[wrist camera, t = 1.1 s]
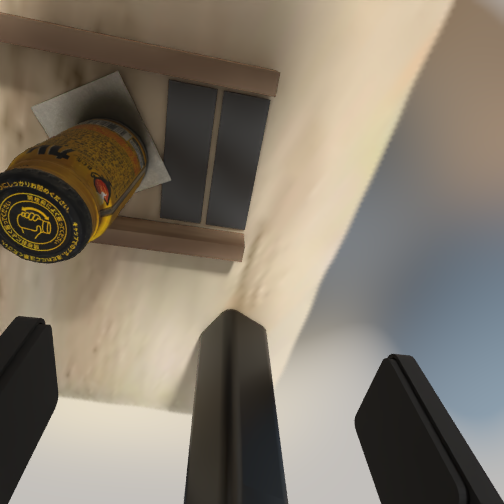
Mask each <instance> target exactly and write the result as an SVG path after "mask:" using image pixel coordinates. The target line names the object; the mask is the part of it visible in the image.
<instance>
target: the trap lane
mask: <svg viewBox="0 0 504 504" xmlns="http://www.w3.org/2000/svg"><path fill="white" fill-rule="evenodd" d="M0 42H5V43H10V44H15V45H20V46H25V47H29V48H34V49H39V50H44V51H49V52H54V53H59V54H64V55H69V56H74V57H79V58H84V59H89V60H94V61H99V62H104V63H109V64H114V65H119V66H124V67H129V68H134V69H139V70H144V71H149V72H154V73H159V74H164V75H169V76H174V77H179V78H184V79H189V80H194V81H199V82H204V83H209V84H214V85H219V86H224V87H229V88H234V89H239V90H244V91H249V92H254V93H259V94H264V95H269V96H273V97H275V96H276V91H277V86H278V81H279V76H280V72H278V71H275V70H271V69H266V68H261V67H256V66H252V65H247V64H242V63H238V62H233V61H228V60H223V59H219V58H214V57H209V56H204V55H200V54H195V53H190V52H186V51H181V50H176V49H171V48H167V47H162V46H157V45H152V44H148V43H143V42H138V41H134V40H129V39H124V38H119V37H115V36H110V35H105V34H101V33H96V32H91V31H86V30H82V29H77V28H72V27H67V26H63V25H58V24H53V23H49V22H44V21H39V20H34V19H30V18H25V17H20V16H15V15H11V14H6V13H1V12H0ZM216 97H217V89H213V88H208V87H203V86H198V85H193V84H188V83H183V82H178V81H173V80H169V89H168V104H167V119H166V134H165V150H164V165H165V168H166V170H167V172H168V174H169V176H170V178H171V181H168V182H165V183H162V195H161V211H160V218H166V219H172V220H179V221H186V222H193V223H200V222H201V214H202V206H203V198H204V191H205V183H206V175H207V167H208V159H209V152H210V144H211V136H212V128H213V120H214V113H215V105H216ZM269 105H270V100H268V99H263V98H258V97H253V96H248V95H243V94H238V93H233V92H228V91H224V96H223V103H222V110H221V118H220V125H219V132H218V140H217V147H216V154H215V161H214V169H213V176H212V183H211V191H210V198H209V205H208V213H207V220H206V224H207V225H214V226H221V227H228V228H235V229H242V230H245V226H246V221H247V216H248V211H249V206H250V201H251V196H252V191H253V186H254V181H255V176H256V170H257V165H258V160H259V155H260V150H261V145H262V140H263V135H264V130H265V125H266V120H267V115H268V110H269ZM90 242H93V243H101V244H108V245H116V246H123V247H131V248H139V249H146V250H154V251H162V252H169V253H177V254H184V255H192V256H200V257H207V258H215V259H222V260H230V261H238V262H242V258H243V253H244V248H245V245H244V234H242V233H235V232H228V231H221V230H214V229H207V228H200V227H193V226H186V225H179V224H172V223H165V222H158V221H151V220H144V219H137V218H130V217H123V216H117V217H116V219H115V220H114V221H113V222H112V224H111V225H110V226H109V227H108V229H107V230H106V231H105V232H104V233H103V234H102V235H101V236H99V237H98V238H96V239H94V240H93V241H90Z"/></svg>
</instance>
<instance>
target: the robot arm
mask: <svg viewBox="0 0 504 504" xmlns="http://www.w3.org/2000/svg"><path fill="white" fill-rule="evenodd" d="M57 401H58V385H57V376H56V366H55V356H54V346H53V336H52V328H51V326H50V325H45V321H44V319H42V318H33V317H23V316H18V317H16V318H15V319H14V320H13V321H12V323H11V324H10V325H9V326H8V327H7V329H6V330H5V331H4V332H3V334H2V335H1V336H0V504H8V503H9V500H10V499H11V496H12V494H13V492H14V490H15V488H16V486H17V484H18V482H19V480H20V478H21V476H22V474H23V472H24V470H25V468H26V466H27V464H28V462H29V460H30V458H31V456H32V454H33V452H34V450H35V448H36V446H37V444H38V442H39V440H40V438H41V436H42V434H43V432H44V430H45V428H46V426H47V424H48V422H49V420H50V418H51V415H52V414H53V411H54V410H55V407H56V404H57ZM355 429H356V432H357V435H358V438H359V440H360V443H361V446H362V449H363V452H364V455H365V458H366V461H367V464H368V467H369V470H370V472H371V475H372V478H373V481H374V484H375V487H376V490H377V493H378V495H379V498H380V501H381V504H504V502H503V500H502V499H501V497H500V496H499V494H498V493H497V491H496V489H495V488H494V486H493V484H492V483H491V481H490V480H489V478H488V476H487V475H486V473H485V471H484V470H483V468H482V467H481V465H480V463H479V462H478V460H477V459H476V457H475V455H474V454H473V452H472V451H471V449H470V447H469V446H468V444H467V443H466V441H465V439H464V438H463V436H462V435H461V433H460V431H459V430H458V428H457V427H456V425H455V423H454V422H453V420H452V418H451V417H450V415H449V414H448V412H447V410H446V409H445V407H444V406H443V404H442V402H441V401H440V399H439V397H438V396H437V394H436V393H435V391H434V389H433V388H432V386H431V385H430V383H429V381H428V380H427V378H426V377H425V375H424V373H423V372H422V370H421V368H420V367H419V365H418V364H417V362H416V361H415V359H414V358H413V357H412V356H409V355H399V354H391V355H389V356H388V358H385V359H383V361H382V363H381V365H380V367H379V369H378V371H377V373H376V375H375V377H374V379H373V381H372V383H371V385H370V388H369V389H368V392H367V393H366V395H365V397H364V399H363V402H362V404H361V406H360V408H359V410H358V412H357V414H356V416H355Z"/></svg>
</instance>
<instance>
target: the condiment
mask: <svg viewBox="0 0 504 504" xmlns="http://www.w3.org/2000/svg"><path fill="white" fill-rule="evenodd" d="M31 109H32V111H33V112H34V114H35V116H36V117H37V119H38V121H39V122H40V123H41V125H42V126H43V128H44V130H45V132H46V133H47V135H48V136H49V138H50V139H48V140H46V141H44V142H42V143H39V144H37V145H35V146H34V147H31V148H29V149H27V150H25V151H24V152H23V153H21V154H20V155H18V156H17V157H16V158H15V159H14V160H13V161H12V163H11V164H10V165H9V167H8V169H7V170H6V171H5V172H3V173H0V244H1V245H2V246H3V247H4V248H5V249H7V250H9V251H11V252H12V253H14V254H16V255H17V256H19V257H20V258H23V259H25V260H29V261H33V262H38V263H56V262H60V261H64V260H68V259H70V258H73V257H75V256H76V255H77V254H78V253H80V252H81V251H82V250H83V249H84V247H85V246H86V244H87V243H89V242H90V241H93V240H94V239H96V238H98V237H99V236H101V235H102V234H103V233H104V232H105V231H106V230H107V229H108V227H109V226H110V225H111V224H112V222H113V221H114V220H115V219H116V217H117V216H118V214H119V212H120V211H121V209H122V208H124V206H125V204H126V203H127V202H128V201H129V199H130V198H131V197H132V195H133V194H134V193H136V192H139V191H142V190H144V189H147V188H151V187H153V186H157V185H159V184H162V183H165V182H168V181H171V178H170V176H169V174H168V172H167V170H166V168H165V165H164V163H163V161H162V159H161V157H160V155H159V153H158V151H157V149H156V147H155V144H154V142H153V141H152V139H151V136H150V134H149V133H148V131H147V128H146V126H145V125H144V123H143V121H142V119H141V117H140V115H139V112H138V110H137V108H136V106H135V104H134V102H133V100H132V98H131V96H130V94H129V92H128V90H127V89H126V87H125V85H124V82H123V80H122V78H121V76H120V74H119V72H118V71H116V72H114V73H111V74H109V75H107V76H105V77H102V78H100V79H97V80H95V81H93V82H90V83H88V84H85V85H83V86H81V87H78V88H76V89H73V90H71V91H69V92H66V93H64V94H61V95H59V96H57V97H54V98H52V99H49V100H47V101H45V102H42V103H40V104H37V105H35V106H33V107H31Z"/></svg>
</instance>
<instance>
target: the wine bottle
mask: <svg viewBox="0 0 504 504" xmlns="http://www.w3.org/2000/svg"><path fill="white" fill-rule="evenodd" d="M184 504H288V499H287V491H286V483H285V475H284V467H283V460H282V452H281V445H280V437H279V429H278V420H277V413H276V405H275V397H274V389H273V382H272V374H271V366H270V358H269V350H268V343H267V335H266V329H265V328H264V327H263V326H261V325H260V324H258V323H257V322H255V321H253V320H252V319H250V318H248V317H247V316H245V315H243V314H242V313H240V312H238V311H236V310H233V309H229V310H226V311H224V312H222V313H221V314H220V315H219V316H218V318H217V319H216V320H215V321H214V322H213V323H212V324H211V325H210V326H209V327H208V328H207V329H206V330H205V331H204V332H203V333H202V335H201V337H200V346H199V356H198V366H197V376H196V386H195V396H194V406H193V416H192V426H191V436H190V446H189V457H188V466H187V476H186V487H185V496H184Z"/></svg>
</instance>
